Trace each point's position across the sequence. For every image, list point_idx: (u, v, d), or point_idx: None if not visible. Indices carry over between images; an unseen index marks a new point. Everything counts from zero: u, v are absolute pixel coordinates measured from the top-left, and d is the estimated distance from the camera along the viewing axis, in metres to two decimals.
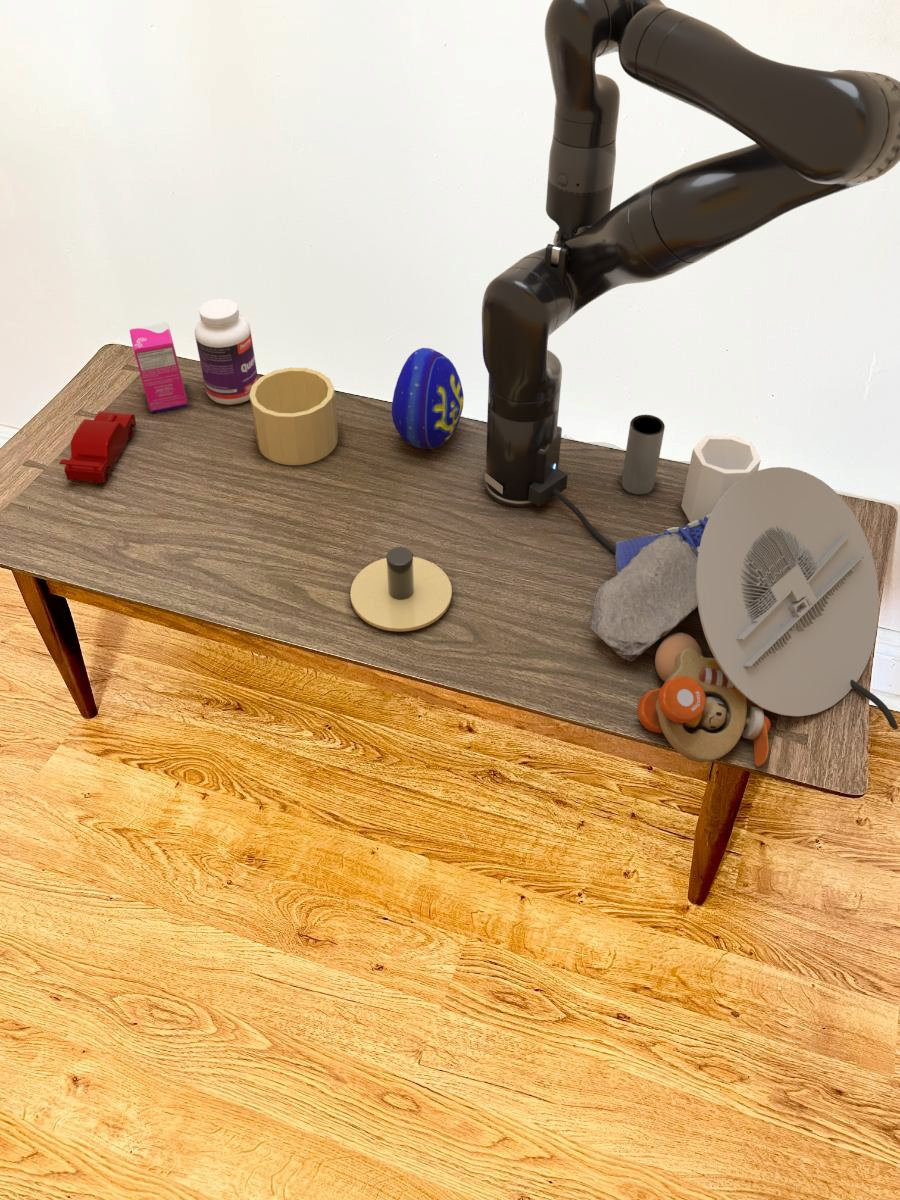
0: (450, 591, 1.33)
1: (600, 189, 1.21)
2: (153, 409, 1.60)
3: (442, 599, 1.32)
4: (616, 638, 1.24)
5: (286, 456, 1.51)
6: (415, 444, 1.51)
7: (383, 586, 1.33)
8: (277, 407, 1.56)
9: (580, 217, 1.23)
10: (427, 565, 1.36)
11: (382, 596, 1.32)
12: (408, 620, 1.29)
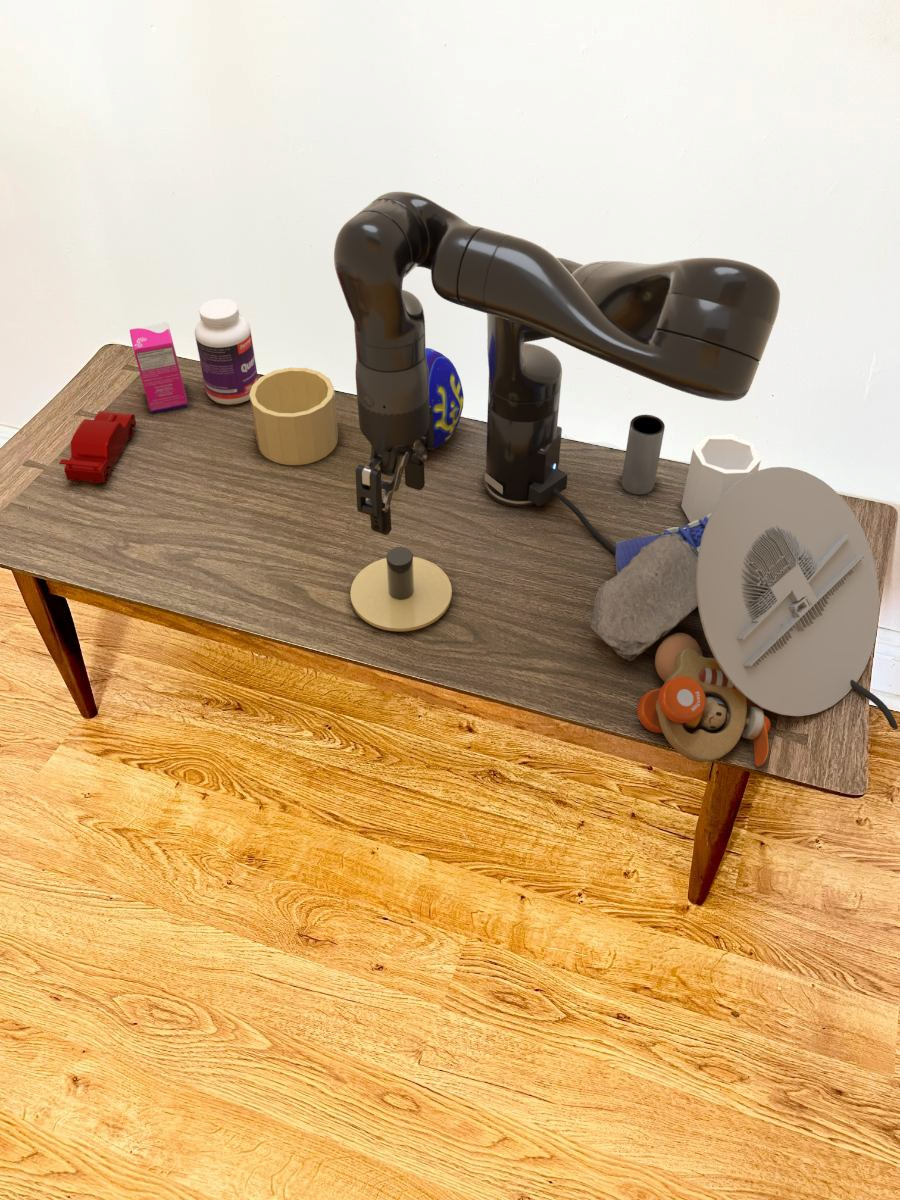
0: (450, 591, 1.33)
1: (411, 410, 1.09)
2: (153, 409, 1.60)
3: (442, 599, 1.32)
4: (615, 638, 1.24)
5: (286, 456, 1.51)
6: None
7: (383, 586, 1.33)
8: (277, 407, 1.56)
9: (392, 437, 1.11)
10: (427, 565, 1.36)
11: (382, 596, 1.32)
12: (408, 620, 1.29)
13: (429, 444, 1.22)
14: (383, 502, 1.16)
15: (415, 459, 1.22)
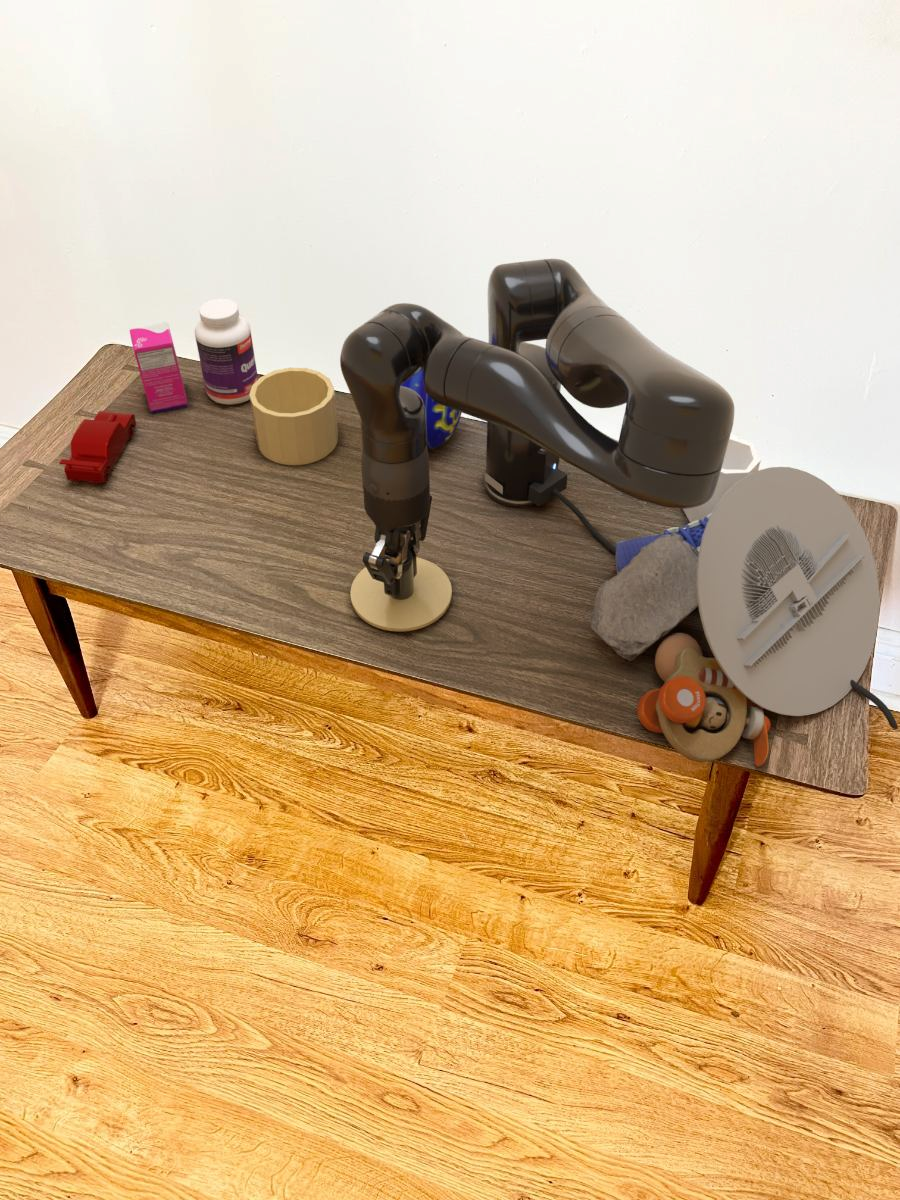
0: (450, 591, 1.33)
1: (412, 496, 1.18)
2: (153, 409, 1.60)
3: (442, 599, 1.32)
4: (615, 638, 1.24)
5: (286, 456, 1.51)
6: None
7: (383, 586, 1.33)
8: (277, 407, 1.56)
9: (395, 520, 1.19)
10: (427, 565, 1.36)
11: (382, 596, 1.32)
12: (408, 620, 1.29)
13: (422, 534, 1.30)
14: None
15: None
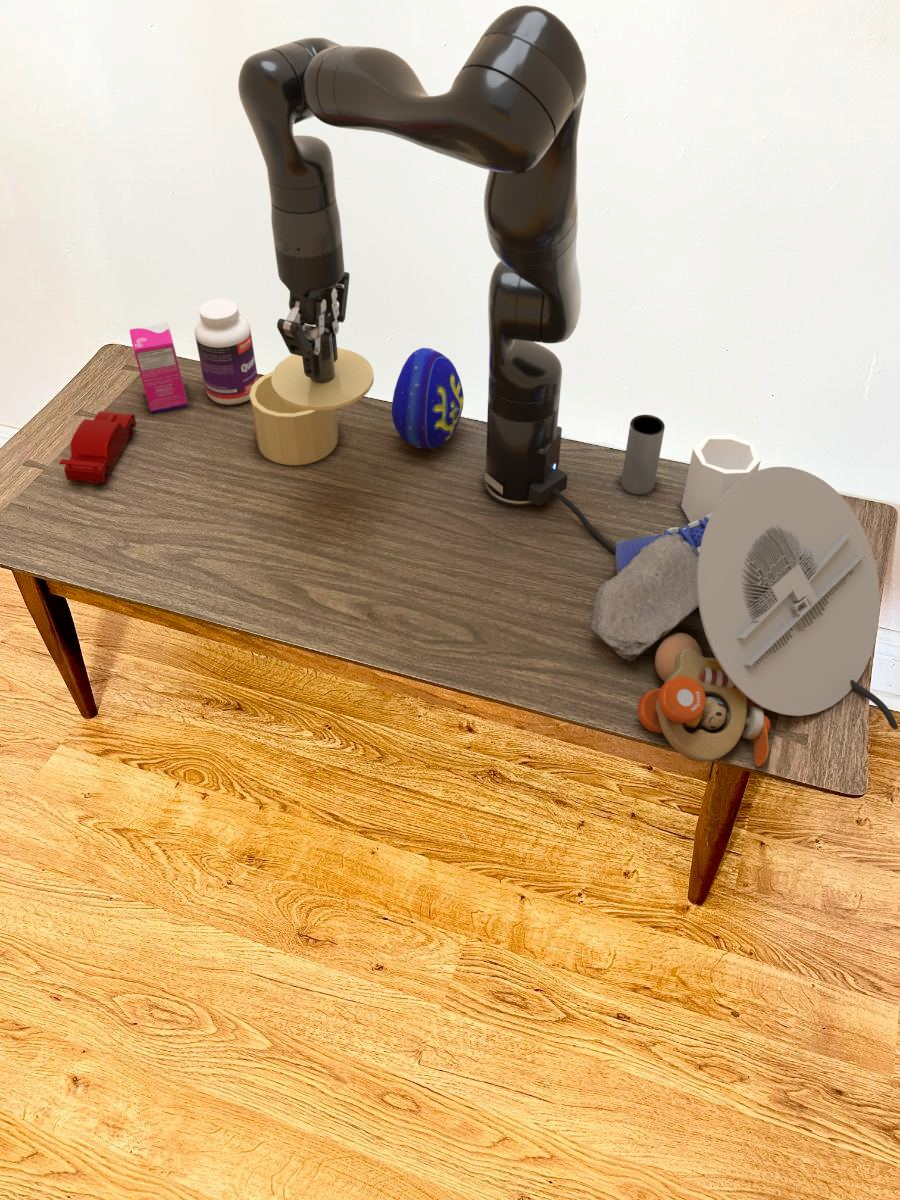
0: (371, 375, 1.32)
1: (324, 253, 1.17)
2: (153, 409, 1.60)
3: (363, 381, 1.31)
4: (616, 638, 1.24)
5: (286, 456, 1.51)
6: (415, 444, 1.51)
7: None
8: (277, 407, 1.56)
9: (307, 281, 1.19)
10: (349, 354, 1.35)
11: (303, 380, 1.32)
12: (328, 400, 1.29)
13: (341, 314, 1.29)
14: None
15: None
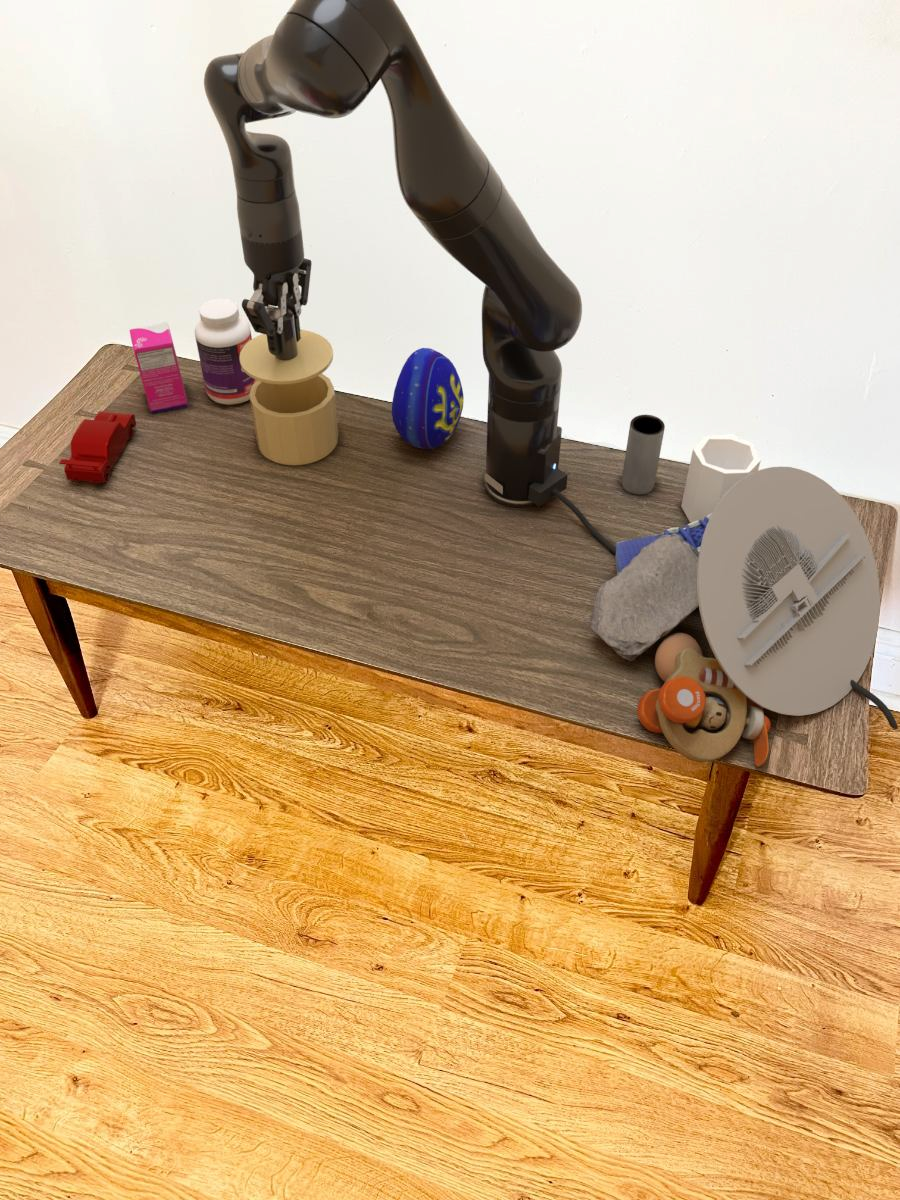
0: (331, 354, 1.45)
1: (283, 240, 1.30)
2: (153, 409, 1.60)
3: (323, 359, 1.44)
4: (616, 638, 1.24)
5: (286, 456, 1.51)
6: (415, 444, 1.51)
7: None
8: (277, 407, 1.56)
9: (269, 265, 1.32)
10: (312, 336, 1.48)
11: (268, 358, 1.44)
12: (290, 375, 1.41)
13: (303, 298, 1.42)
14: None
15: None
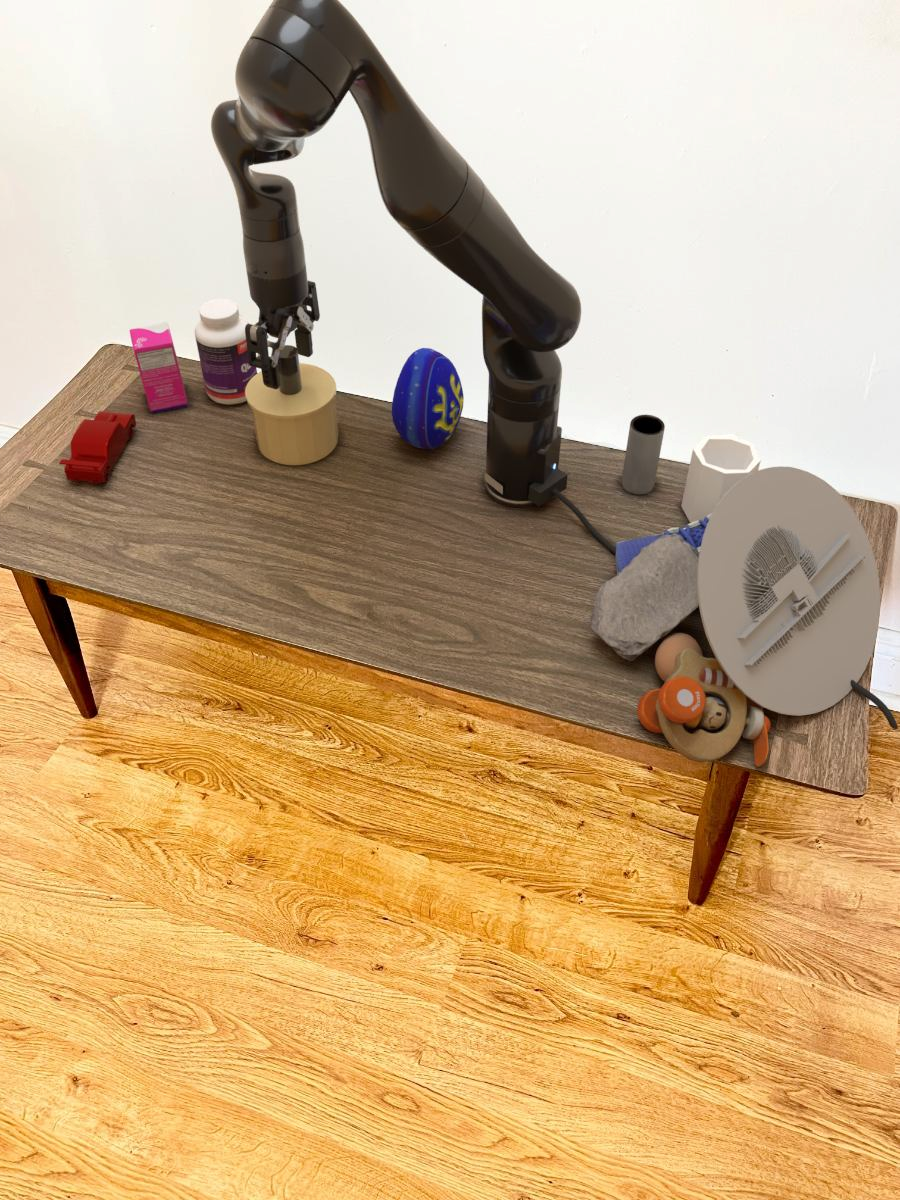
0: (334, 388, 1.49)
1: (288, 276, 1.33)
2: (153, 409, 1.60)
3: (326, 394, 1.48)
4: (616, 638, 1.24)
5: (286, 456, 1.51)
6: (415, 444, 1.51)
7: None
8: None
9: (274, 300, 1.35)
10: (316, 370, 1.52)
11: (273, 392, 1.48)
12: (294, 410, 1.46)
13: (315, 316, 1.47)
14: (271, 358, 1.40)
15: (303, 328, 1.47)
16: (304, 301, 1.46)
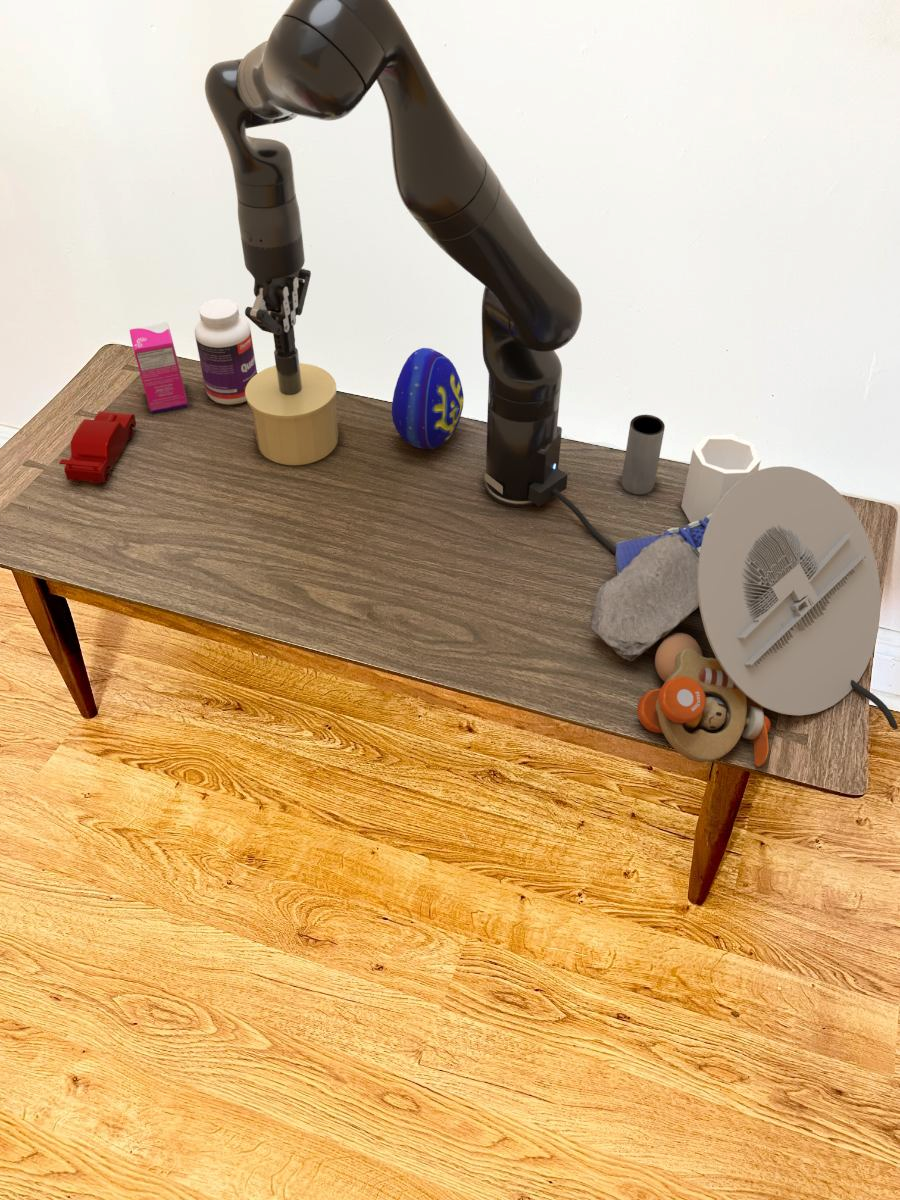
0: (334, 388, 1.49)
1: (284, 244, 1.30)
2: (153, 409, 1.60)
3: (326, 394, 1.48)
4: (616, 638, 1.24)
5: (286, 456, 1.51)
6: (415, 444, 1.51)
7: (275, 385, 1.50)
8: None
9: (270, 269, 1.32)
10: (316, 370, 1.52)
11: (273, 392, 1.48)
12: (294, 410, 1.46)
13: (299, 306, 1.42)
14: None
15: None
16: None
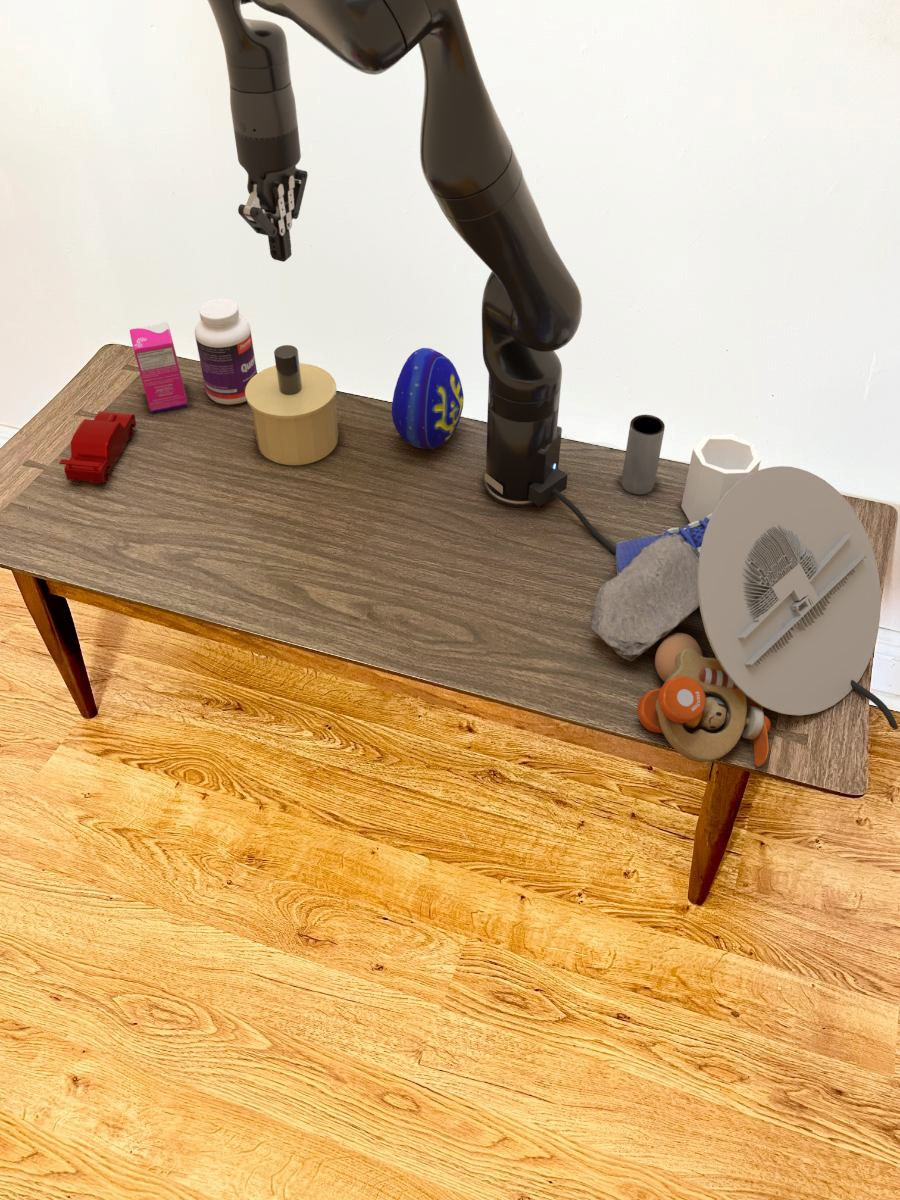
0: (334, 388, 1.49)
1: (279, 135, 1.24)
2: (153, 409, 1.60)
3: (326, 394, 1.48)
4: (616, 638, 1.24)
5: (286, 456, 1.51)
6: (415, 444, 1.51)
7: (275, 385, 1.50)
8: None
9: (264, 163, 1.26)
10: (316, 370, 1.52)
11: (273, 392, 1.48)
12: (294, 410, 1.46)
13: (295, 209, 1.36)
14: None
15: None
16: None
